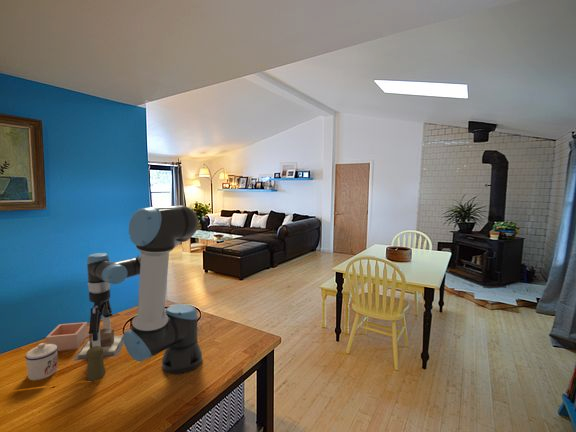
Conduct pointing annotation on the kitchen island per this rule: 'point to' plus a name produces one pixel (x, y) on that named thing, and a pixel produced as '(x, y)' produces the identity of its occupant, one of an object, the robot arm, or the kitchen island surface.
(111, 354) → the mat
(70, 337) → the pink open box
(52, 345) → the white lidded canister
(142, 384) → the kitchen island surface
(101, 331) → the lid
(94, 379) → the olive green rounded column
